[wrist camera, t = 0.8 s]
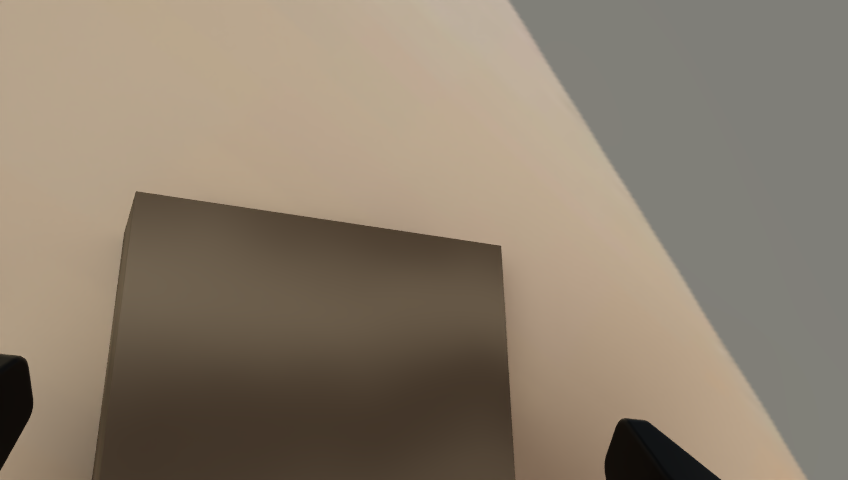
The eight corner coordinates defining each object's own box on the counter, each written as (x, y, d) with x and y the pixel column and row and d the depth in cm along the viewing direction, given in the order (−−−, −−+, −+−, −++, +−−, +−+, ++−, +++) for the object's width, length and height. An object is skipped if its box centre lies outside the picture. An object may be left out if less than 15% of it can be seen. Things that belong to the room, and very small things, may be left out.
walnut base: (453, 596, 22) (524, 625, 18) (67, 666, 16) (67, 728, 13) (443, 270, 25) (501, 246, 22) (124, 232, 19) (136, 191, 16)
